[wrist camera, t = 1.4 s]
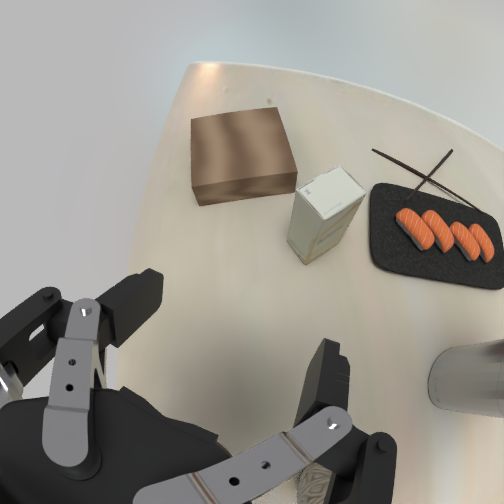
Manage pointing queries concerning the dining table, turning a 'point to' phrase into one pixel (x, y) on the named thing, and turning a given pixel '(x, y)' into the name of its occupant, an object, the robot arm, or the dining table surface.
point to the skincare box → (323, 212)
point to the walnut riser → (240, 156)
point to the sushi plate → (434, 235)
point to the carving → (313, 484)
